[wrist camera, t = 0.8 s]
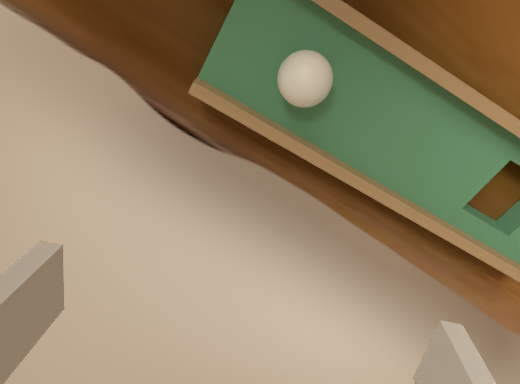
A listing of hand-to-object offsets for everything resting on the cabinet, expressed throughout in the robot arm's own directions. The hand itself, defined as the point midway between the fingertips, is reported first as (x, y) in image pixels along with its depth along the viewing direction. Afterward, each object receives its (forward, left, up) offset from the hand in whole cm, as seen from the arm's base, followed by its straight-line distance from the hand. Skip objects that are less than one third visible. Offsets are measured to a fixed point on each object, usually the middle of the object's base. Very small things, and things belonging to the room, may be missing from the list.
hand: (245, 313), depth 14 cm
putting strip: (-4, +10, -23) cm, 26 cm away
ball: (-4, 0, -19) cm, 20 cm away
